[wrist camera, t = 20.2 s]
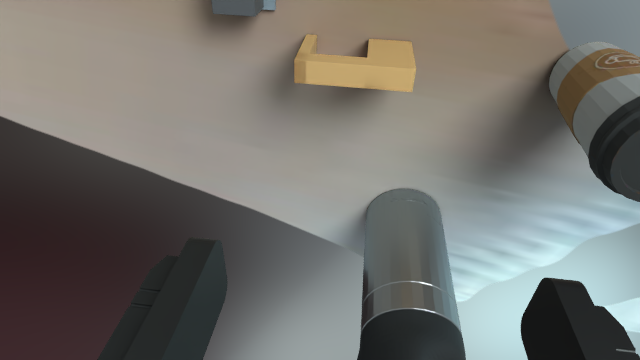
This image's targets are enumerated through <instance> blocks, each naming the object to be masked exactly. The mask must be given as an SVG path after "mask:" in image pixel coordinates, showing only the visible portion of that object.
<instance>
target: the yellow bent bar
mask: <svg viewBox="0 0 640 360" xmlns="http://www.w3.org/2000/svg"><path fill="white" fill-rule="evenodd" d="M316 51H317V35H309V34H307V35H306V37H305V39H304V41H303V43H302V45H301V47H300V49H299V51H298V53H297V56H296V58H295V60H294V83H304V84H317V85H329V86H342V87H355V88H367V89H380V90H393V91H405V92H412V90H413V84H414V79H415V73H416V65H415V60H414V54H413V49H412V43H411V42H409V41H395V40H381V39H369V43H368V53H367V58H365V57H351V56H337V55H324V54H316Z"/></svg>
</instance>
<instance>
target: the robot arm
mask: <svg viewBox="0 0 640 360" xmlns="http://www.w3.org/2000/svg"><path fill="white" fill-rule="evenodd" d="M226 291H227V275H226V268H225V261H224V255H223V248H222V243H221V241H220V240H213V239H204V238H195V237H191V238H190V239H188V241H187V242H186V244H185V246H184V248H183V250H182V251H181V253H180V255H179V257H177V256H168V255H167V256H166V257H165V258H164V259H163V260H161V261H160V262H159V263H158V264H157V265H156V266H154V267H153V268H152V269H151V270H150V272H149V273H148V275H147V276H146V278H145V280H144V282H143V283H142V285H141V287H140V290H139V292H137V293H136V295H135V297H134V299H133V300H132V302H131V306H130V307H128V309H127V310H126V312H125V314H124V315H123V317H122V319H121V320H120V322H119V324H118V326H117V327H116V329H115V331H114V332H113V334H112V336H111V337H110V339H109V341H108V343H107V344H106V346H105V348H104V350H103V351H102V353H101V354H100V356H99V358H98V359H97V360H203V357H204V354H205V352H206V349H207V346H208V344H209V341H210V338H211V336H212V333H213V330H214V328H215V325H216V322H217V320H218V317H219V314H220V312H221V309H222V306H223V303H224V300H225V296H226ZM521 336H522V341H523V344H524V347H525V351H526V354H527V357H528V360H640V357H639V355H638V354H636V353H635V348H634V346H633V344H632V342H631V340H630V338H629V337H628V335H627V333H626V331H625V329H624V327H623V326H622V325H621V324H620V323H619V322H618V321H617V320H616V319H615V318H614V317H613V316H612V315H611V314H610V313H609V312H608V311H607V310H606V309H605V307H602V306H594V304H593V302H592V300H591V298H590V296H589V294H588V292H587V290H586V288H585V286H584V285H583V284H582V283H581V282H579V281H573V280H563V279H555V278H544V279H542V280H541V282H540V283H539V285H538V287H537V289H536V291H535V293H534V295H533V297H532V299H531V301H530V302H529V304H528V306H527V308H526V310H525V312H524V314H523V317H522V320H521ZM360 339H361V340H360V350H359V354H358V358H357V360H466V358H465V349H464V343H463V338H462V334H461V328H460V322H459V316H458V311H457V306H456V300H455V294H454V288H453V282H452V276H451V271H450V265H449V259H448V253H447V247H446V242H445V235H444V229H443V224H442V218H441V213H440V209H439V207H438V205H437V204H436V202H435V201H434V200H433V199H432V198H431V197H429V196H428V195H426V194H425V193H422V192H419V191H417V190H411V189H397V190H391V191H388V192H385V193H383V194H382V195H380V196H378V197H377V198H376V199H375V200H373V201H372V203H371V204H370V206H369V208H368V210H367V214H366V231H365V250H364V271H363V295H362V319H361V338H360Z"/></svg>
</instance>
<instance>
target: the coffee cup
mask: <svg viewBox="0 0 640 360" xmlns="http://www.w3.org/2000/svg"><path fill="white" fill-rule="evenodd" d="M549 88H550V92H551V95H552V96H553V98H554V100H555V101H556V103H557V105H558V109H559V110H560V112H561V114H562V116H563V117H564V119H565V121H566V123H567V125H568V126H569V128H570V130H571V132H572V133H573V135H574V137H575V138H576V140H577V141H578V143H579V144H580V145H581V146H582V148H583V150H584V151H585V153H586V155H587V157H588V159H589V164H590V168H591V169H592V171H593V172H594V174H595V175H596V177H597V178H599V179H600V180H601V181H602V182H603V184H604V185H605V186H607V187H608V188H610V189H611V190H612V191H614V192H616V193H619V194H622V195H624V196H625V197H626V198H629V199H632V200H635V201H638V202H640V57H637V56H636V55H634V54H632V53H629V52H627V51H624V50H622V49H620V48H618V47H616V46H614V45H611V44H609V43H606V42H592V43H586V44H583V45H580V46H578V47H575V48H573V49H572V50H570V51H568V52H567V53H566V54H564V55H563V56H562V57H561V58H560V59H559V60H558V62H557V63H556V65H555V66H554V68H553V70H552V73H551V75H550V80H549Z"/></svg>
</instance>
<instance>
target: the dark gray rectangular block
mask: <svg viewBox="0 0 640 360" xmlns="http://www.w3.org/2000/svg"><path fill="white" fill-rule="evenodd" d="M263 8H264V2H263V0H212V9H213V14H226V15H241V16H256V15H257V14H258V13H259V12H260V11H261V10H262V9H263Z"/></svg>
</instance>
